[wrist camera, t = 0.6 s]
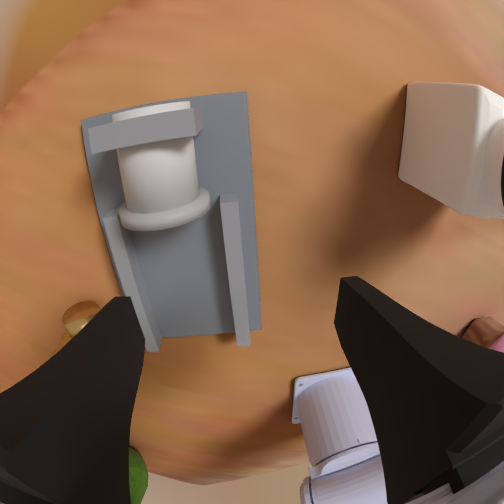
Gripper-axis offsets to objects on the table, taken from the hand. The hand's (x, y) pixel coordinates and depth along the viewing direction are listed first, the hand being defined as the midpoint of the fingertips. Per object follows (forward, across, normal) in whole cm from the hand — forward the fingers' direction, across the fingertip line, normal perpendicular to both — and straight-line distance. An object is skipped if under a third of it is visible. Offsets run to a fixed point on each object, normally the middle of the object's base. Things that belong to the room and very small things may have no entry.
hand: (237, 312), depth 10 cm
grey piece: (+10, +3, +1) cm, 11 cm away
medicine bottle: (+10, -15, -5) cm, 19 cm away
